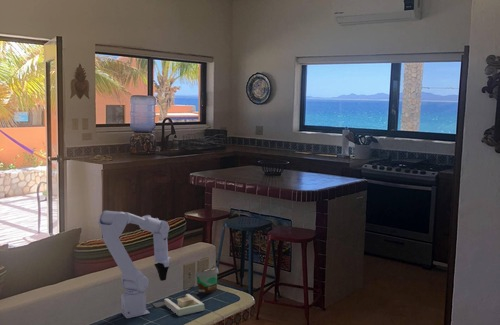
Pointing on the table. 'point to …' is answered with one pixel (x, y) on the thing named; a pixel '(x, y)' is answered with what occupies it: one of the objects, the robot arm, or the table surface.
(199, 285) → the food container
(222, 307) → the table surface
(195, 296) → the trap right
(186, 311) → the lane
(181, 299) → the birch block
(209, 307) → the table surface
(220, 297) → the table surface
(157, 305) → the plate
